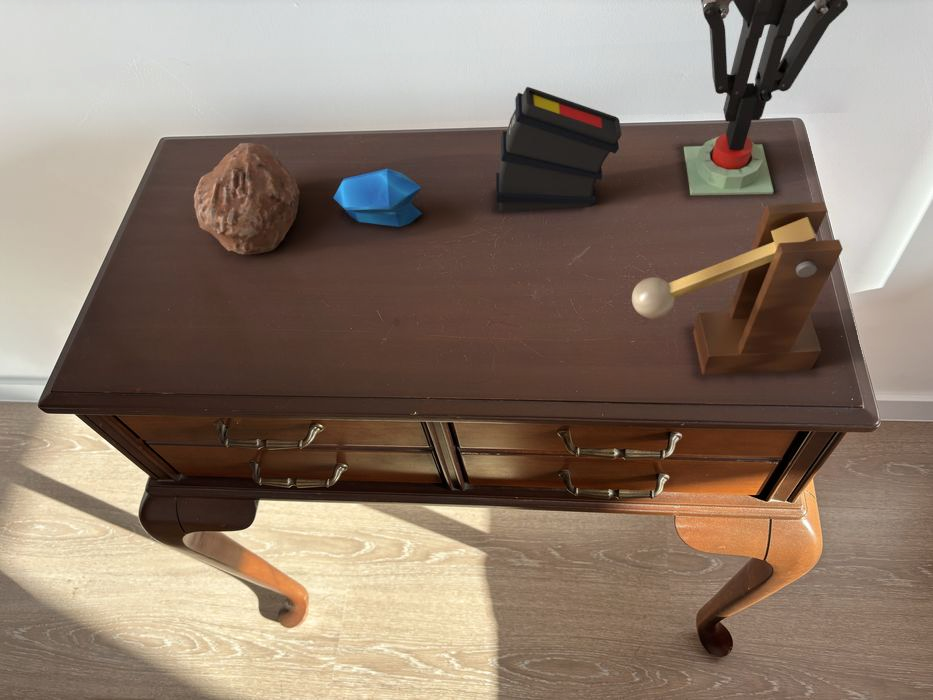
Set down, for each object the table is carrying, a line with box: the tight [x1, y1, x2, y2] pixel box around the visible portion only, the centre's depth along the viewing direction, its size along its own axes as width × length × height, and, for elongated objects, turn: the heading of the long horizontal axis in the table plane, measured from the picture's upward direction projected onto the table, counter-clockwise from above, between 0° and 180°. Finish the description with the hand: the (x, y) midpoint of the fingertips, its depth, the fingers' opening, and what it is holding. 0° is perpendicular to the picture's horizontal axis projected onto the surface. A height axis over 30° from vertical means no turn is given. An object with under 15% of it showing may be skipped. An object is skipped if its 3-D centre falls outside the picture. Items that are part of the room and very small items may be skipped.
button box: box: [683, 136, 775, 196], centre depth 80 cm, size 9×8×3 cm
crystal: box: [333, 168, 423, 228], centre depth 79 cm, size 7×9×12 cm
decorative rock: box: [193, 142, 301, 256], centre depth 80 cm, size 13×11×10 cm
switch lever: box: [631, 217, 819, 320], centre depth 57 cm, size 15×4×4 cm
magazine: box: [495, 86, 622, 212], centre depth 77 cm, size 4×13×15 cm, turn 89°
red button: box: [712, 133, 753, 170], centre depth 79 cm, size 4×4×2 cm
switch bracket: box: [692, 201, 843, 376], centre depth 60 cm, size 10×6×18 cm, turn 90°
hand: (734, 141), depth 77 cm, fingers closed
